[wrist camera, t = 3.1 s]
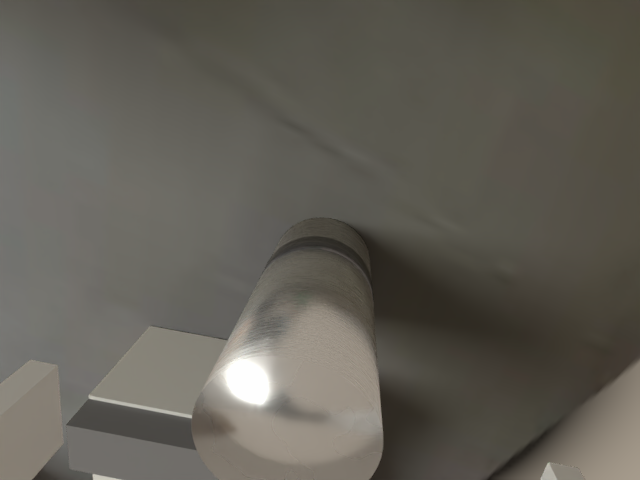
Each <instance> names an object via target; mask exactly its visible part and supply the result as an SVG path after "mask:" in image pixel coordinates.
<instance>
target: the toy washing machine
mask: <svg viewBox="0 0 640 480" xmlns="http://www.w3.org/2000/svg"><path fill="white" fill-rule="evenodd" d="M227 341H228V340H223V339H218V338H213V337H207V336H202V335H197V334H191V333H186V332H180V331H175V330H170V329H164V328H159V327H154V326H150V327H149V328H148V329H147V330H146V331H145V332H144V333H143V335H142V336H141V337H140V338H139V339H138V340H137V341H136V342H135V344H134V345H133V346H132V347H131V348H130V349H129V350H128V352H127V353H126V354H125V355H124V356H123V357H122V358H121V359H120V361H119V362H118V363H117V364H116V365H115V366H114V367H113V368H112V370H111V371H110V372H109V373H108V374H107V375H106V376H105V378H104V379H103V380H102V381H101V382H100V383H99V384H98V385H97V387H96V388H95V389H94V390H93V391H92V392H91V393H90V394H89V399H88V400H87V402H86V403H85V404H84V405H83V406H82V407H81V408H80V410H79V411H78V412H77V413H76V414H75V415H74V416H73V418H72V419H71V420H70V421H69V422H68V423H67V424H66V432H67V445H68V458H69V469H70V470H75V471H80V472H86V473H91V474H93V480H219V479H218V478H217V477H216V476H214V475H213V473H212V472H211V471H210V470H209V469H208V468H207V466H206V465H205V464H204V462H203V461H202V459H201V457H200V455H199V453H198V452H197V449H196V447H195V444H194V441H193V436H192V430H191V420H192V413H193V409H194V406H195V403H196V401H197V399H198V397H199V395H200V393H201V391H202V389H203V387H204V385H205V383H206V381H207V379H208V377H209V376H210V374H211V372H212V370H213V368H214V366H215V364H216V362H217V360H218V358H219V356H220V354H221V352H222V351H223V349H224V347H225V345H226V343H227Z"/></svg>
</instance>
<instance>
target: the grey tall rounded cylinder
mask: <svg viewBox="0 0 640 480" xmlns="http://www.w3.org/2000/svg"><path fill="white" fill-rule="evenodd" d="M191 430H192V436H193V441H194V444H195V447H196V449H197V452H198V453H199V455H200V457H201V459H202V461H203V462H204V464H205V465H206V466H207V468H208V469H209V470H210V471H211V472H212V473H213V475H214V476H216V477H217V478H218V479H219V480H369V479H370V478H371V477H372V476H373V474H374V472H375V471H376V469H377V467H378V465H379V462H380V459H381V456H382V451H383V427H382V414H381V401H380V387H379V374H378V361H377V347H376V334H375V321H374V308H373V289H372V280H371V268H370V257H369V252H368V249H367V247H366V244H365V243H364V241H363V239H362V238H361V237H360V235H359V234H358V233H357V232H356V231H355V230H354V229H352V228H351V227H350V226H348V225H346V224H345V223H343V222H340V221H338V220H335V219H330V218H311V219H307V220H304V221H301V222H299V223H297V224H295V225H294V226H292V227H291V228H290V229H288V230H287V232H286V233H285V234H284V235H283V236H282V238H281V239H280V241H279V243H278V245H277V247H276V249H275V251H274V253H273V254H272V256H271V258H270V260H269V261H268V263H267V265H266V267H265V269H264V271H263V273H262V275H261V277H260V278H259V281H258V283H257V285H256V287H255V289H254V291H253V293H252V295H251V297H250V299H249V301H248V302H247V304H246V306H245V308H244V310H243V312H242V314H241V316H240V318H239V320H238V322H237V324H236V326H235V327H234V329H233V331H232V333H231V335H230V337H229V339H228V341H227V343H226V345H225V347H224V349H223V351H222V352H221V354H220V356H219V358H218V360H217V362H216V364H215V366H214V368H213V370H212V372H211V374H210V376H209V377H208V379H207V381H206V383H205V385H204V387H203V389H202V391H201V393H200V395H199V397H198V399H197V401H196V403H195V406H194V409H193V413H192V420H191Z"/></svg>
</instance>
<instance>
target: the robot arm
mask: <svg viewBox="0 0 640 480" xmlns="http://www.w3.org/2000/svg"><path fill="white" fill-rule="evenodd" d="M62 444H63V432H62V418H61V404H60V389H59V375H58V365H54V364H49V363H44V362H39V361H34V360H30V361H28V362H27V363H26V364H25V365H23V366H22V367H21V368H19V369H18V370H17V371H16V372H14V373H13V374H12V375H11V376H9V377H8V378H7V379H6V380H4V381H3V382H2V383H1V384H0V480H32V479H33V478H34V477H35V476H36V475H37V474H38V472H39V471H40V470H41V469H42V468H43V467H44V465H45V464H46V463H47V462H48V461H49V460H50V458H51V457H52V456H53V455H54V454H55V453H56V451H57V450H58V449H59V448H60V447H61V446H62ZM540 480H585V478H584V477H583V475H582V473H581V472H580V470H579V468H576V467H571V466H566V465H561V464H556V463H551V462H548V464H547V466H546V468H545V470H544V472H543V475H542V477H541V479H540Z"/></svg>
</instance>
